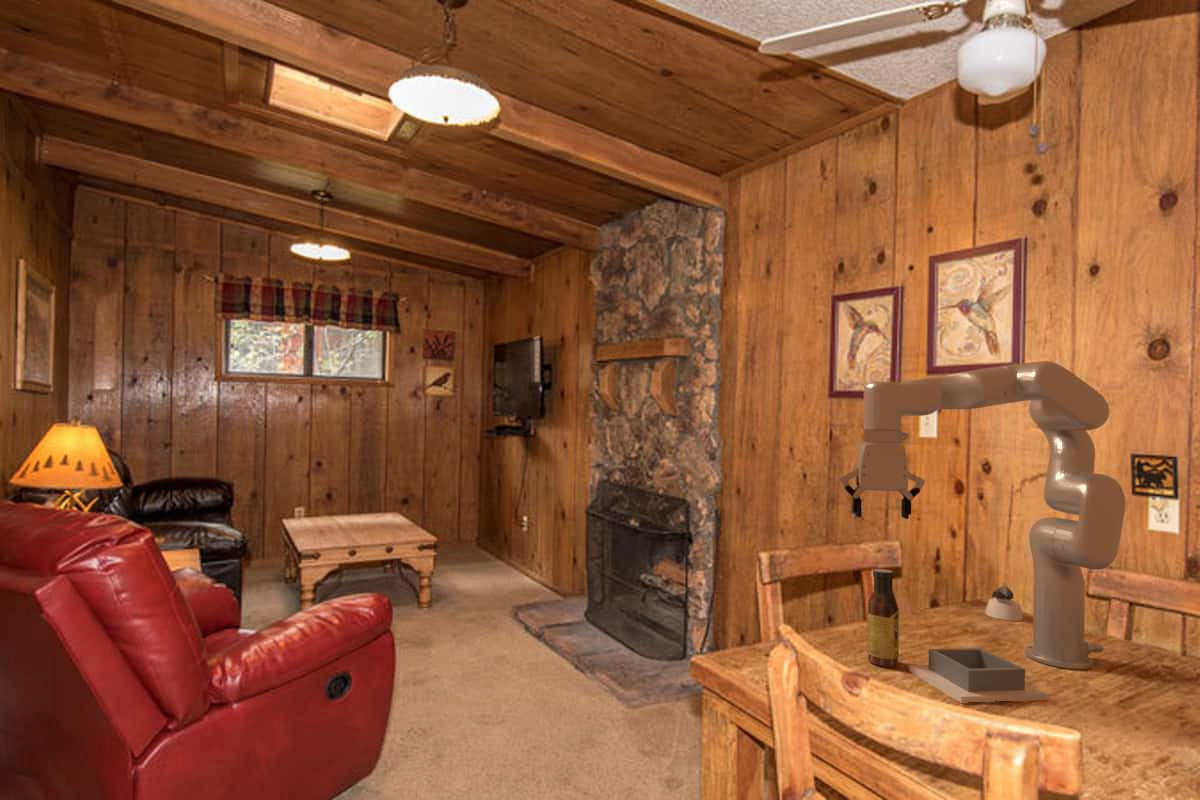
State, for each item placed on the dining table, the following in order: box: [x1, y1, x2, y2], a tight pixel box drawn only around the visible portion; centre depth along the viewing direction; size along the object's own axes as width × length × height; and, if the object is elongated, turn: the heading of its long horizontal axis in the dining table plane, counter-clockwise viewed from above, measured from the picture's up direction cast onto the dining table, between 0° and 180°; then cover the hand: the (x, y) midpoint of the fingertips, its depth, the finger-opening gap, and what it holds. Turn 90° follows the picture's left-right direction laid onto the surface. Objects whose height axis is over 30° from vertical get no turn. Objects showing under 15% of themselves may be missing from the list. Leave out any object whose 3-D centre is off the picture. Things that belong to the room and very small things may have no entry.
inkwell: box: [984, 585, 1024, 622], centre depth 181 cm, size 9×18×10 cm, turn 154°
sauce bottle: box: [867, 568, 900, 668], centre depth 146 cm, size 6×6×20 cm
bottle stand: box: [908, 647, 1048, 704], centre depth 135 cm, size 18×16×5 cm
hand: (881, 517), depth 146 cm, fingers open, 9 cm apart
